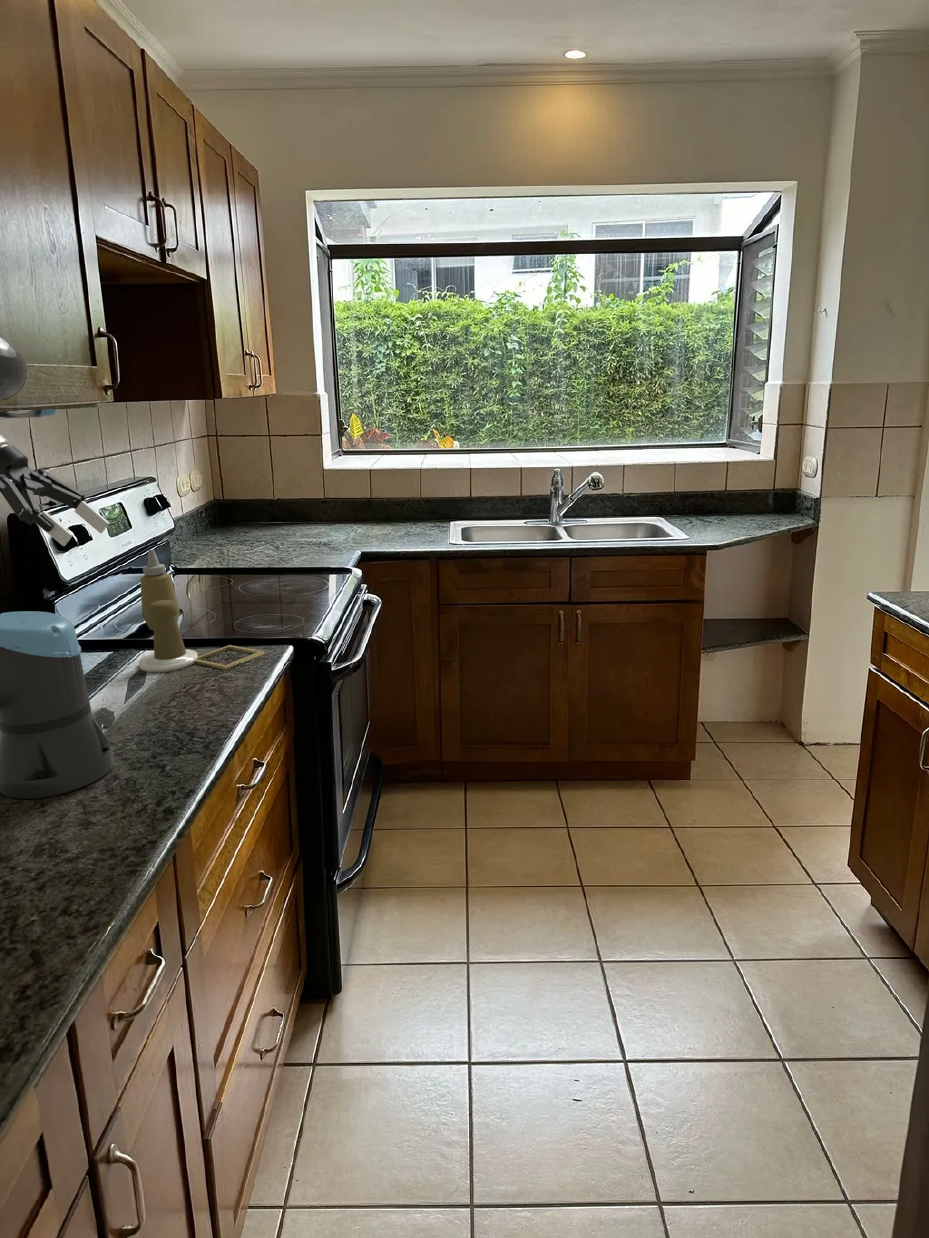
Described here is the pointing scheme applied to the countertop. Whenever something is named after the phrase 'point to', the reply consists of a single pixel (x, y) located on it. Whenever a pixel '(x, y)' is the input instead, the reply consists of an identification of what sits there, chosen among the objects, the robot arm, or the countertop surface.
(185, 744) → the countertop surface
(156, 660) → the saucer
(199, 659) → the square frame
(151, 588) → the squeeze bottle
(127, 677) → the countertop surface
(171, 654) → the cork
